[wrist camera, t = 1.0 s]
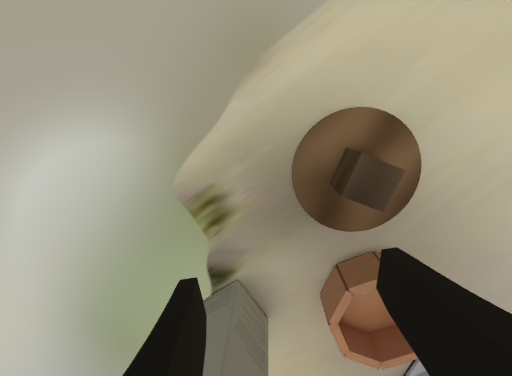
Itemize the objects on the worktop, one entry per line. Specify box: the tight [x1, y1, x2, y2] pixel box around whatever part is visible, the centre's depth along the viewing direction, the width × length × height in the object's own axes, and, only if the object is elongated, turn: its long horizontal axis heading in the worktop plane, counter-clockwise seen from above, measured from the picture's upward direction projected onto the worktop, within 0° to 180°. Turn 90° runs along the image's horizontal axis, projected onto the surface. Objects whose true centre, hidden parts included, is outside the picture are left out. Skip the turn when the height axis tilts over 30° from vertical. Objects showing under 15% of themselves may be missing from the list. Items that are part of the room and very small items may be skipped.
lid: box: [292, 107, 421, 231], centre depth 22 cm, size 11×11×5 cm
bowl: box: [320, 252, 418, 369], centre depth 25 cm, size 9×9×4 cm
